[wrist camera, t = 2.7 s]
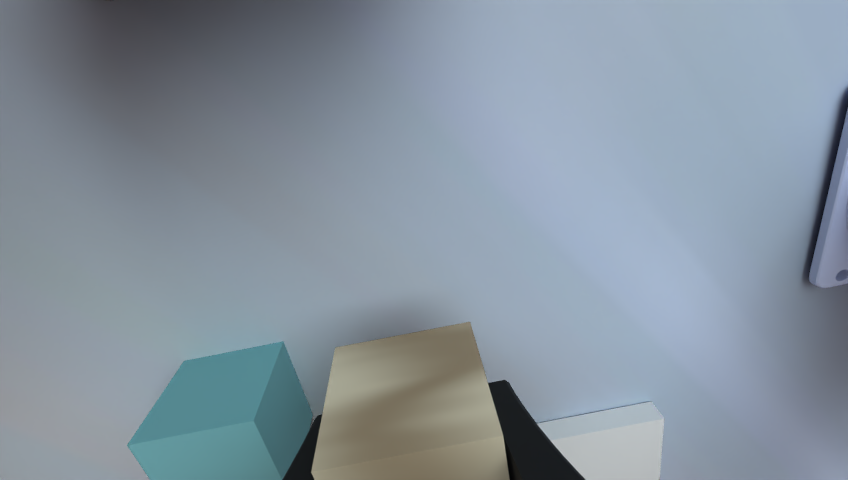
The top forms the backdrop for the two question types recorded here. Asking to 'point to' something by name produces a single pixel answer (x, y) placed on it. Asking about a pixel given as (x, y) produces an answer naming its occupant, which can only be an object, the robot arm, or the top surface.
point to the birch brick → (410, 411)
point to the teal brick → (226, 419)
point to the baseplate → (611, 442)
